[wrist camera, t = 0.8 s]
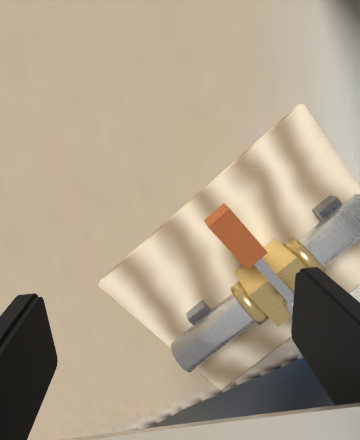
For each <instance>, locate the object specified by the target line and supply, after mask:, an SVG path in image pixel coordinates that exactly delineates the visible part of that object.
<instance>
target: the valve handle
mask: <svg viewBox="0 0 360 440" xmlns="http://www.w3.org/2000/svg"><path fill="white" fill-rule="evenodd" d="M204 221H205V223H206V225H207V226H208V228H209V229H210V230H211V231H212V232H213V233H214V234H215V235H216V236H217V238H218V239H219V240H220V241H221V242H222V243H223V244H224V245H225V246H226V247H227V248H228V249H229V251H230V252H231V253H232V254H233V255H234V256H235V257H236V258H237V259H238V260H239V261H240V263H241V264H242V265H243V266H244V267H245V268H246V269H249V268H250V267H251V266H252V265H253V264H254V265H255V266H256V268H257V269H258V270H259V271H260V272H261V273H262V274H263V275H264V276H265V278H266V279H267V280H268V281H269V282H270V283H271V284H272V285H273V286H274V287H275V289H276V290H277V291H278V292H279V293H280V294H281V295H282V296H283V297H284V299H283V305H284V307H285V308H286V310H287V311H288V312H289V314H290V315H291V316H292V313H293V300H294V291H292V292H291V291H290V290H289V288H288V287H287V286H286V285H285V284H284V283H283V282H282V281H281V279H280V278H279V277H278V276H277V275H276V274H275V273H274V271H273V270H272V269H271V268H270V267H269V266H268V265H267V264H266V262H265V261H264V260H263V259H262V257H263V256H264V255H266V254H267V253H268V252H267V251H266V250H265V249H264V247H263V246H262V245H261V244H260V243H259V242H258V240H257V239H256V238H255V237H254V236H253V235H252V234H251V232H250V231H249V230H248V229H247V228H246V227H245V225H244V224H243V223H242V222H241V221H240V220H239V219H238V217H237V216H236V215H235V214H234V213H233V212H232V210H231V209H230V208H229V207H228V206H227V205H226V204H225V203H223V204H222V205H221V206H220V207H219V208H217V209H216V210H215V211H214V212H213V213H212V214H210V215H209V216H208V217H207V218H206V219H205V220H204Z"/></svg>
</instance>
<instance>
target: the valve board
mask: <svg viewBox="0 0 360 440" xmlns="http://www.w3.org/2000/svg"><path fill="white" fill-rule="evenodd" d="M354 194H360V187H359V186H358V184H357V183H356V181H355V180H354V178H353V177H352V175H351V174H350V172H349V171H348V169H347V168H346V166H345V165H344V163H343V162H342V160H341V159H340V157H339V156H338V154H337V153H336V151H335V150H334V148H333V147H332V145H331V144H330V142H329V141H328V139H327V138H326V136H325V135H324V133H323V132H322V130H321V129H320V127H319V126H318V124H317V123H316V121H315V120H314V118H313V117H312V115H311V114H310V112H309V111H308V109H307V108H306V106H305V105H304V104H301V105H297V106H296V107H295V108H294V109H293V110H292V111H290V112H289V113H288V114H287V115H286V116H285V117H284V118H283V119H281V120H280V121H279V122H278V123H277V124H276V125H275V126H274V127H272V128H271V129H270V130H269V131H268V132H267V133H266V134H265V135H263V136H262V137H261V138H260V139H259V140H258V141H257V142H255V143H254V144H253V145H252V146H251V147H250V148H249V149H248V150H246V151H245V152H244V153H243V154H242V155H241V156H240V157H239V158H237V159H236V160H235V161H234V162H233V163H232V164H231V165H230V166H228V167H227V168H226V169H225V170H224V171H223V172H222V173H221V174H219V175H218V176H217V177H216V178H215V179H214V180H213V181H212V182H210V183H209V184H208V185H207V186H206V187H205V188H204V189H202V190H201V191H200V192H199V193H198V194H197V195H196V196H195V197H193V198H192V199H191V200H190V201H189V202H188V203H187V204H186V205H184V206H183V207H182V208H181V209H180V210H179V211H178V212H177V213H175V214H174V215H173V216H172V217H171V218H170V219H169V220H168V221H166V222H165V223H164V224H163V225H162V226H161V227H160V228H159V229H157V230H156V231H155V232H154V233H153V234H152V235H151V236H150V237H148V238H147V239H146V240H145V241H144V242H143V243H142V244H140V245H139V246H138V247H137V248H136V249H135V250H134V251H133V252H131V253H130V254H129V255H128V256H127V257H126V258H125V259H124V260H122V261H121V262H120V263H119V264H118V265H117V266H116V267H115V268H113V269H112V270H111V271H110V272H109V273H108V274H107V275H106V276H104V277H103V278H102V279H101V280H100V282H99V285H98V286H99V287H100V288H102V289H103V290H104V291H105V292H106V293H107V294H109V295H110V296H111V297H112V298H113V299H114V300H116V301H117V302H118V303H119V304H120V305H121V306H123V307H124V308H125V309H126V310H127V311H128V312H130V313H131V314H132V315H133V316H134V317H136V318H137V319H138V320H139V321H140V322H141V323H143V324H144V325H145V326H146V327H147V328H148V329H150V330H151V331H152V332H153V333H154V334H155V335H157V336H158V337H159V338H160V339H161V340H162V341H164V342H165V343H166V344H167V345H168V346H169V347H171V343H172V342H173V341H174V340H175V339H176V338H178V337H179V336H180V335H181V334H183V333H184V332H185V331H186V330H188V329H189V328H190V327H191V326H192V325H193V324H192V323H190V322H189V321H188V319H187V314H186V313H187V312H188V311H189V310H191V309H192V308H193V307H194V306H195V305H197V304H198V303H199V302H200V301H201V300H203V301H204V302H205V303H206V304H207V305H208V306H209V307H210V308H211V309H213V308H215V307H216V306H217V305H218V304H220V303H221V302H222V301H223V300H224V299H226V298H227V297H228V296H229V295H231V294H232V292H231V289H230V287H232V286H233V285H234V284H235V283H237V282H238V281H239V279H238V277H237V276H236V274H235V271H236V270H237V269H238V268H240V267H241V266H242V264H241V263H240V261H239V260H238V259H237V258H236V257H235V256H234V255H233V254H232V253H231V252H230V251H229V249H228V248H227V247H226V246H225V245H224V244H223V243H222V242H221V241H220V240H219V239H218V238H217V236H216V235H215V234H214V233H213V232H212V231H211V230H210V229H209V228H208V226H207V225H206V223H205V221H204V220H205V219H206V218H207V217H208V216H209V215H210V214H212V213H213V212H214V211H215V210H216V209H217V208H219V207H220V206H221V205H222V204H223V203H225V204H226V205H227V206H228V207H229V208H230V209H231V210H232V212H233V213H234V214H235V215H236V216H237V217H238V219H239V220H240V221H241V222H242V223H243V224H244V225H245V227H246V228H247V229H248V230H249V231H250V232H251V234H252V235H253V236H254V237H255V238H256V239H257V240H258V242H259V243H260V244H261V245H262V246H263V247H265V246H266V245H268V244H269V243H270V242H271V241H272V240H274V239H276V240H278V241H279V242H280V243H281V244H282V245H283V244H284V243H286V242H287V241H288V240H289V239H290V238H292V237H294V238H295V239H297V240H298V239H300V238H301V237H302V236H303V235H305V234H306V233H307V232H308V231H309V230H311V229H312V228H313V227H314V226H316V225H317V224H318V223H319V222H320V220H319V219H318V218H317V216H316V215H315V214H314V212H313V211H312V209H313V208H315V207H316V206H317V205H318V204H319V203H321V202H322V201H323V200H324V199H326V198H327V197H328V196H329V195H332V196H335V197H338V198H339V200H340V201H341V203H342V204H343V203H344V202H345V201H346V200H348V199H349V198H350V197H351V196H353V195H354ZM324 268H325V270H326V271H327V275H328V276H329V277H330V278H331V279H332V280H334V281H335V282H336V283H337V284H338V285H340V286H341V287H342V288H343V289H344V290H345V291H347V292H348V293H349V292H350V291H352V290H353V289H354V288H356V287H357V286H358V285H359V284H360V240H359V241H357V242H356V243H355V244H353V245H352V246H351V247H350V248H348V249H347V250H346V251H345V252H343V253H342V254H341V255H339V256H338V257H337V258H336V259H334V260H333V261H332V262H331V263H329V264H328V265H327V266H325V267H324ZM291 327H292V317H290V318H289V319H288V320H287V321H285V322H284V323H283V324H281V325H280V326H279V327H278V326H277V325H276V324H275V323H274V322H273V321H272V320H271V319H270V318H269V319H268V320H267V321H265V322H264V323H263V324H261V325H258V324H257V323H256V322H254V323H253V324H252V325H250V326H249V327H248V328H246V329H245V330H244V331H243V332H241V333H240V334H239V335H238V336H236V337H235V338H234V339H232V340H231V341H230V342H229V343H227V344H226V345H225V346H224V347H222V348H221V349H220V350H218V351H217V352H216V353H215V354H213V355H212V356H211V357H210V358H208V359H207V360H206V361H204V362H203V363H202V364H201V365H199V366H198V367H197V368H195V369H196V370H198V371H199V372H200V373H201V374H202V375H203V376H205V377H206V378H207V379H208V380H209V381H210V382H212V383H213V384H214V385H215V386H216V387H217V388H219V389H220V390H221V389H223V388H224V387H225V386H227V385H228V384H229V383H231V382H232V381H233V380H235V379H236V378H237V377H239V376H240V375H241V374H242V373H244V372H245V371H246V370H248V369H249V368H250V367H252V366H253V365H254V364H256V363H257V362H258V361H260V360H261V359H262V358H263V357H265V356H266V355H267V354H269V353H270V352H271V351H273V350H274V349H275V348H277V347H278V346H279V345H281V344H282V343H283V342H285V341H286V340H287V339H288V338H290V337H291V336H292V335H291Z"/></svg>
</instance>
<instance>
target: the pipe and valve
mask: <svg viewBox="0 0 360 440" xmlns="http://www.w3.org/2000/svg"><path fill="white" fill-rule="evenodd" d="M312 211H313V212H314V214H315V215H316V216H317V218H318V219H319V220H320V222H319V223H318V224H317V225H316V226H314V227H313V228H312V229H311V230H309V231H308V232H307V233H306V234H305V235H303V236H302V237H301V238H300V239H298V240H297V239H295V238H294V237H292V238H290V239H289V240H288V241H287V242H286V243H284V244H283V245H282V244H281V243H280V242H279V241H278V240H276V239H274V240H272V241H271V242H270V243H269V244H268V245H266V246H265V247H264V249H265V250H266V251H267V252H268V253H267V254H266V255H264V256H263V257H262V259H263V260H264V261H265V262H266V264H267V265H268V266H269V267H270V268H271V269H272V270H273V271H274V273H275V274H276V275H277V276H278V277H279V278H280V279H281V281H282V282H283V283H284V284H285V285H286V286H287V287H288V288H289V290H290V291H291V292H292V291H294V287H295V275H296V273H298V272H299V271H300V269H302V268H310V267H318V268H320V269H321V270H322V271H323V272H324V273H325V274H327V271H326V270H325V268H324V267H325V266H327V265H328V264H329V263H331V262H332V261H333V260H334V259H336V258H337V257H338V256H339V255H341V254H342V253H343V252H345V251H346V250H347V249H348V248H350V247H351V246H352V245H353V244H355V243H356V242H357V241H359V240H360V194H354V195H353V196H351V197H350V198H349V199H348V200H346V201H345V202H344V203H343V204H342V203H341V201H340V200H339V198H338V197H335V196H332V195H329V196H328V197H327V198H326V199H324V200H323V201H322V202H321V203H319V204H318V205H317V206H316V207H315V208H313V209H312ZM235 274H236V276H237V277H238V279H239V281H238V282H237V283H235V284H234V285H233V286H232V287H230V289H231V292H232V294H231V295H229V296H228V297H227V298H226V299H224V300H223V301H222V302H221V303H220V304H218V305H217V306H216V307H215V308H213V309H211V308H210V307H209V306H208V305H207V304H206V303H205V302H204V301H203V300H201V301H200V302H199V303H198V304H197V305H195V306H194V307H193V308H192V309H191V310H189V311H188V312H187V313H186V314H187V319H188V321H189V322H190V323H192V324H193V325H192V326H191V327H190V328H189V329H188V330H186V331H185V332H184V333H183V334H181V335H180V336H179V337H178V338H176V339H175V340H174V341H173V342H172V343H171V349H172V353H173V355H174V357H175V359H176V361H177V362H178V363H179V365H180V366H181V367H182V368H183V369H184V370H186V371H187V372H192V371H193V370H194V369H195V368H197V367H198V366H199V365H201V364H202V363H203V362H204V361H206V360H207V359H208V358H210V357H211V356H212V355H213V354H215V353H216V352H217V351H218V350H220V349H221V348H222V347H224V346H225V345H226V344H227V343H229V342H230V341H231V340H232V339H234V338H235V337H236V336H238V335H239V334H240V333H241V332H243V331H244V330H245V329H246V328H248V327H249V326H250V325H252V324H253V323H254V322H256V323H257V324H258V325H261V324H263V323H264V322H265V321H267V320H268V319H269V318H270V319H271V320H272V321H273V322H274V323H275V324H276V325H277V326H278V327H279V326H280V325H281V324H283V323H284V322H285V321H287V320H288V319H289V318H290V317H292V316H291V315H290V314H289V312H288V311H287V310H286V308H285V307H284V305H283V299H284V297H283V296H282V295H281V294H280V293H279V292H278V291H277V290H276V289H275V287H274V286H273V285H272V284H271V283H270V282H269V281H268V280H267V279H266V278H265V276H264V275H263V274H262V273H261V272H260V271H259V270H258V269H257V268H256V266H255V265H254V264H253V265H252V266H251V267H250V268H249V269H246V268H245V267H244V266H243V265H242V266H241V267H240V268H238V269H237V270H236V271H235Z"/></svg>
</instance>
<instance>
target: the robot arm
mask: <svg viewBox="0 0 360 440" xmlns="http://www.w3.org/2000/svg"><path fill="white" fill-rule="evenodd" d="M291 335H292V339H293V341H294V343H295V344H296V346H297V347H298V349H299V351H300V352H301V354H302V355H303V357H304V358H305V360H306V361H307V363H308V364H309V366H310V367H311V369H312V370H313V372H314V373H315V375H316V376H317V378H318V380H319V381H320V383H321V384H322V386H323V387H324V389H325V390H326V392H327V393H328V395H329V396H330V398H331V400H332V401H333V403H334V404H335V406H326V407H317V408H309V409H301V410H292V411H284V412H276V413H268V414H259V415H251V416H242V417H234V418H227V419H219V420H210V421H203V422H194V423H187V424H179V425H171V426H163V427H155V428H147V429H139V430H132V431H124V432H117V433H109V434H102V435H94V436H87V437H79V438H71V439H64V440H360V303H359V302H358V301H357V300H356V299H355V298H354V297H352V296H351V295H350V294H349V293H348V292H347V291H345V290H344V289H343V288H342V287H341V286H340V285H338V284H337V283H336V282H335V281H334V280H332V279H331V278H330V277H329V276H328V275H327V274H325V273H324V272H323V271H322V270H321V269H320V268H318V267H310V268H302V269H300V271H299V272H298V273H296V275H295V287H294V300H293V313H292V327H291ZM56 367H57V354H56V350H55V346H54V342H53V337H52V333H51V329H50V325H49V321H48V316H47V312H46V308H45V304H44V300H43V298H42V297H38V295H37V294H25V295H18V296H17V297H16V298H15V299H14V300H13V301H12V303H11V304H10V305H9V306H8V308H7V309H6V310H5V311H4V312H3V314H2V315H1V316H0V440H27V438H28V436H29V433H30V431H31V428H32V426H33V424H34V421H35V419H36V416H37V414H38V411H39V409H40V406H41V404H42V402H43V399H44V397H45V394H46V392H47V389H48V387H49V384H50V382H51V380H52V377H53V375H54V372H55V370H56Z"/></svg>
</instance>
